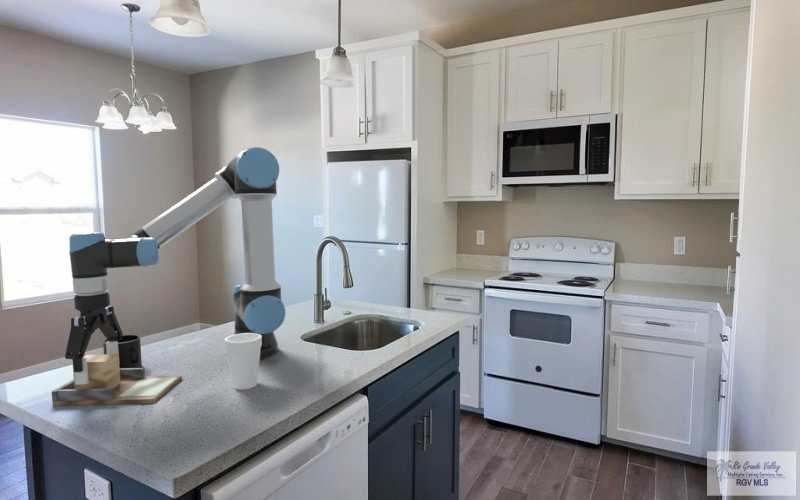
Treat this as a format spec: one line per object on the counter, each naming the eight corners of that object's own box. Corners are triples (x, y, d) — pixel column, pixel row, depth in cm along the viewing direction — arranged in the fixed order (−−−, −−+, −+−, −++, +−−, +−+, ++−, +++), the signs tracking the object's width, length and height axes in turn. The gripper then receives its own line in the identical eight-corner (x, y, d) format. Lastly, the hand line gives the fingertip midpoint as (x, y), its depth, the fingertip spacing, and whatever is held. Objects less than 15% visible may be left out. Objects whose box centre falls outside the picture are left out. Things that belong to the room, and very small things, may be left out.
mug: (123, 377, 129) (121, 346, 129) (97, 371, 135) (95, 341, 134) (154, 367, 138) (152, 337, 137) (128, 361, 143) (127, 333, 142)
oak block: (120, 383, 122) (118, 354, 122) (107, 392, 116) (105, 361, 116) (89, 384, 122) (87, 354, 121) (74, 393, 116) (72, 362, 115)
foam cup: (228, 394, 117) (226, 344, 116) (224, 382, 125) (222, 335, 124) (266, 387, 121) (264, 339, 120) (259, 376, 130) (258, 331, 128)
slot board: (181, 378, 128) (181, 366, 128) (153, 403, 112) (153, 389, 112) (93, 380, 127) (92, 368, 127) (52, 405, 111) (51, 391, 111)
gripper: (105, 284, 129) (111, 358, 131) (40, 303, 104) (49, 393, 106) (132, 284, 129) (138, 357, 131) (74, 302, 105) (82, 392, 107)
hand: (98, 373), depth 119 cm, fingers open, 13 cm apart
